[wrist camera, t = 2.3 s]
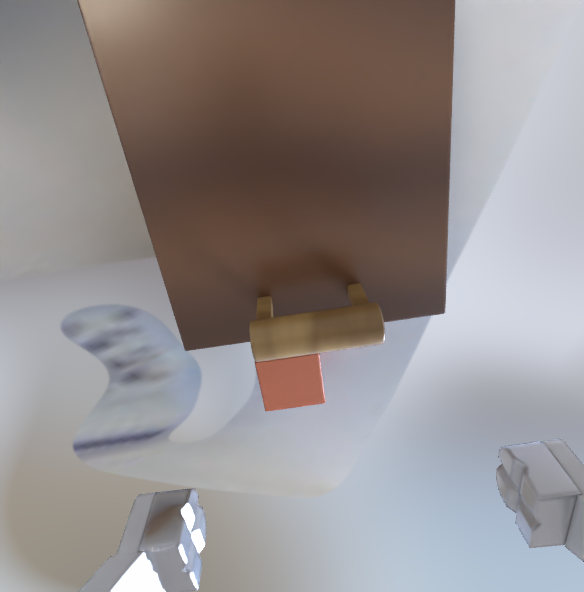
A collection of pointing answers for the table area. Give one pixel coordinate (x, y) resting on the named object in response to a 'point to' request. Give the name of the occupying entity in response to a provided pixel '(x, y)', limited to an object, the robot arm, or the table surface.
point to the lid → (286, 161)
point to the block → (291, 382)
